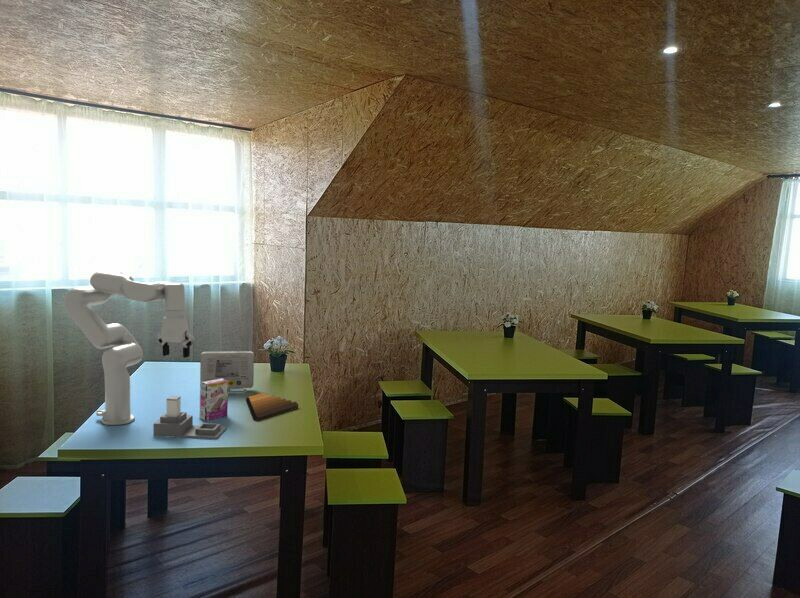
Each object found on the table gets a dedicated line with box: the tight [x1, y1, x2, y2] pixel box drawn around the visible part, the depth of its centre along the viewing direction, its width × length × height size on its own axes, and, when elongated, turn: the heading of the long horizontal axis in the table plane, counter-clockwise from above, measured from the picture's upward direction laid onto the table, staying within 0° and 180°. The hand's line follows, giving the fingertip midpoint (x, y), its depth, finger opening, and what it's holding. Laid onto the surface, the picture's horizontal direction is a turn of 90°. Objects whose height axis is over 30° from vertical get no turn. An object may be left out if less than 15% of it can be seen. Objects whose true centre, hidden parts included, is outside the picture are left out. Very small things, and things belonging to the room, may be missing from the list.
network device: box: [199, 350, 255, 394], centre depth 295 cm, size 26×9×20 cm, turn 105°
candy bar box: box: [199, 378, 229, 422], centre depth 254 cm, size 11×5×16 cm, turn 141°
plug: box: [166, 395, 182, 417], centre depth 235 cm, size 4×4×9 cm
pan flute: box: [245, 392, 299, 422], centre depth 271 cm, size 25×3×25 cm
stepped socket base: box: [152, 411, 227, 440], centre depth 236 cm, size 25×12×7 cm, turn 89°
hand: (176, 356), depth 236 cm, fingers open, 9 cm apart
